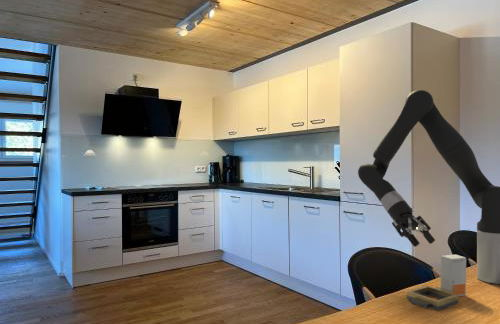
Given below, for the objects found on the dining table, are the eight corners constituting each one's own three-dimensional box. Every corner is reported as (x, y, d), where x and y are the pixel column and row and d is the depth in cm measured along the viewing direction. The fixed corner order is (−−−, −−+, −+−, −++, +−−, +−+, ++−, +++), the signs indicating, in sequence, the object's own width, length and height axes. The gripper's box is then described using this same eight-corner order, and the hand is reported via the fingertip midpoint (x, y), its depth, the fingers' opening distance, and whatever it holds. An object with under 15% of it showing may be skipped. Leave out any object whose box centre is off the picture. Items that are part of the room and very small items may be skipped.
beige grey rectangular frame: (429, 292, 116) (429, 284, 116) (461, 302, 108) (461, 294, 108) (404, 300, 110) (403, 292, 110) (435, 312, 101) (435, 303, 101)
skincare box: (450, 297, 111) (450, 258, 111) (440, 292, 116) (440, 255, 116) (466, 295, 113) (466, 257, 113) (455, 291, 117) (455, 254, 117)
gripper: (389, 200, 126) (419, 239, 117) (414, 198, 134) (445, 235, 124) (376, 214, 131) (404, 252, 121) (402, 211, 138) (430, 247, 128)
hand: (425, 243), depth 122 cm, fingers open, 8 cm apart
